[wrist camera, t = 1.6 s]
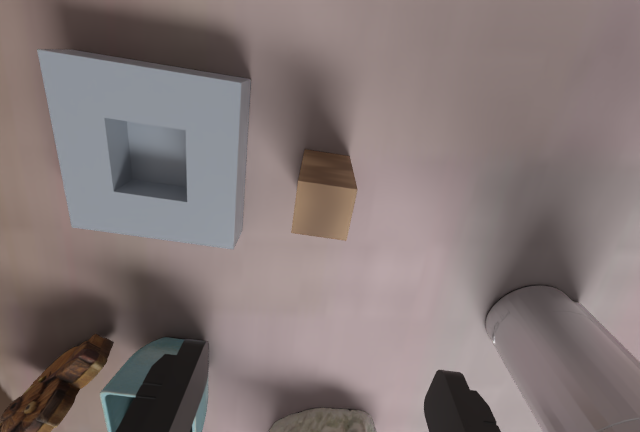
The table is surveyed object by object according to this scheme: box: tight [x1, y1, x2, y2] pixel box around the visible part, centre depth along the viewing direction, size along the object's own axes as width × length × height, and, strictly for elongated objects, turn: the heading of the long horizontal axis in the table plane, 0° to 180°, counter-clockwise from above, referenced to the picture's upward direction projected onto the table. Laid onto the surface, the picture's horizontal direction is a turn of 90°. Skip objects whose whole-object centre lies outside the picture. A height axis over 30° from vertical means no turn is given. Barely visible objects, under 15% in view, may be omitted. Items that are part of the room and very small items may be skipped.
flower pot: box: [100, 337, 208, 432], centre depth 37 cm, size 9×9×9 cm
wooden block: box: [291, 149, 357, 241], centre depth 27 cm, size 4×4×8 cm
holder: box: [37, 49, 251, 249], centre depth 28 cm, size 14×14×4 cm
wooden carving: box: [0, 334, 114, 432], centre depth 37 cm, size 16×5×10 cm, turn 135°
